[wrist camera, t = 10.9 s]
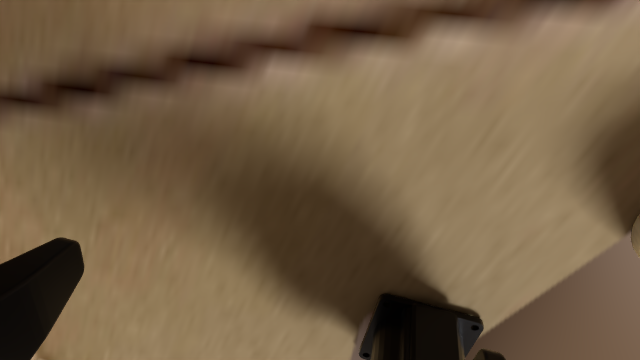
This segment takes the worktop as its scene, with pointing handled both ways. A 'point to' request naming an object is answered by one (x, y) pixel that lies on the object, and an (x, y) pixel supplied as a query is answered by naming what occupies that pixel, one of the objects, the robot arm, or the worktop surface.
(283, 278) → the worktop surface
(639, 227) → the white rounded cube
